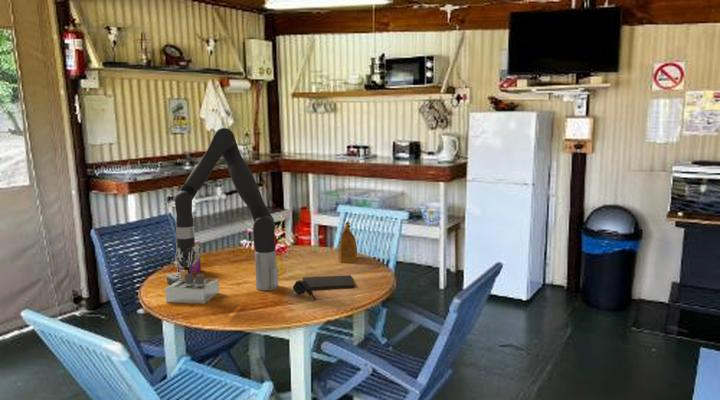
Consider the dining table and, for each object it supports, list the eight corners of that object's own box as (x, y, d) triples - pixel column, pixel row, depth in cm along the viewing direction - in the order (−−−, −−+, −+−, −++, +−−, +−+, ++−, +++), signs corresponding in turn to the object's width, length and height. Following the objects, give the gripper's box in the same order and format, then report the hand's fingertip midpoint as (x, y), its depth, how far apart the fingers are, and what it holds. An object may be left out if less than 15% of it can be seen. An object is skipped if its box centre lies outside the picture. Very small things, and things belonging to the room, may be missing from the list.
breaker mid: (194, 283, 232) (194, 273, 232) (190, 286, 228) (190, 275, 228) (187, 283, 233) (187, 273, 232) (183, 285, 229) (183, 275, 228)
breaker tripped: (190, 279, 239) (189, 269, 238) (186, 281, 235) (185, 271, 234) (183, 278, 239) (182, 269, 239) (179, 281, 235) (178, 271, 235)
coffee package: (357, 260, 295) (356, 220, 292) (357, 266, 283) (356, 224, 280) (338, 260, 295) (338, 220, 292) (338, 266, 283) (337, 225, 280)
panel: (219, 292, 240) (218, 279, 240) (204, 303, 226) (203, 289, 225) (182, 291, 243) (182, 278, 242) (166, 302, 228) (165, 287, 227)
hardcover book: (302, 282, 258) (302, 277, 257) (351, 279, 260) (350, 275, 260) (303, 292, 242) (303, 287, 242) (354, 289, 245) (354, 284, 244)
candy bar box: (177, 276, 268) (176, 243, 265) (177, 273, 272) (175, 241, 270) (201, 273, 272) (199, 241, 269) (200, 271, 276) (198, 239, 274)
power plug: (311, 299, 226) (295, 278, 231) (303, 311, 230) (288, 290, 235) (320, 296, 231) (304, 275, 236) (313, 307, 235) (297, 287, 240)
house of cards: (163, 266, 289) (162, 252, 287) (180, 264, 292) (179, 250, 291) (165, 270, 281) (164, 255, 279) (182, 268, 284) (181, 253, 283)
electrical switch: (174, 279, 249) (164, 271, 255) (173, 289, 250) (164, 281, 256) (192, 275, 255) (183, 268, 261) (192, 285, 257) (182, 277, 263)
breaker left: (206, 283, 231) (205, 273, 231) (201, 286, 228) (201, 276, 227) (198, 283, 232) (198, 273, 231) (194, 286, 228) (194, 276, 227)
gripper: (186, 239, 231) (188, 279, 233) (200, 233, 243) (202, 271, 246) (170, 239, 232) (172, 278, 234) (184, 233, 245) (186, 270, 247)
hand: (187, 274), depth 240 cm, fingers closed
